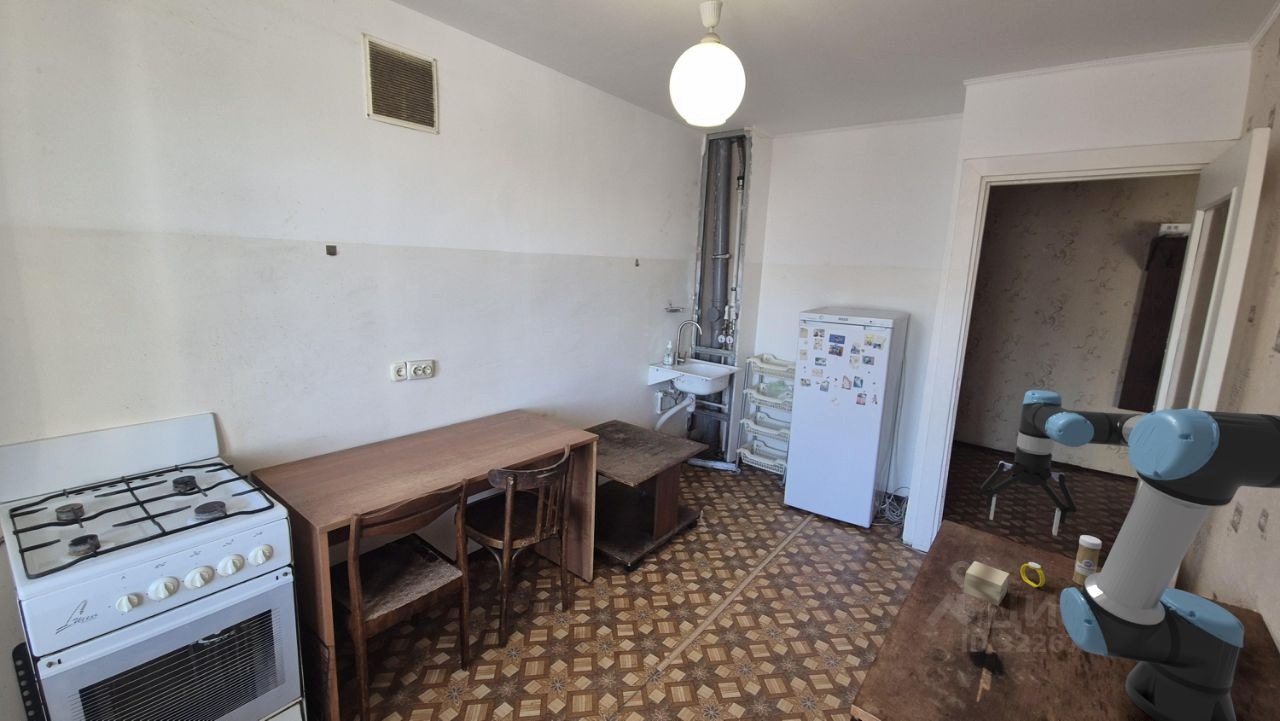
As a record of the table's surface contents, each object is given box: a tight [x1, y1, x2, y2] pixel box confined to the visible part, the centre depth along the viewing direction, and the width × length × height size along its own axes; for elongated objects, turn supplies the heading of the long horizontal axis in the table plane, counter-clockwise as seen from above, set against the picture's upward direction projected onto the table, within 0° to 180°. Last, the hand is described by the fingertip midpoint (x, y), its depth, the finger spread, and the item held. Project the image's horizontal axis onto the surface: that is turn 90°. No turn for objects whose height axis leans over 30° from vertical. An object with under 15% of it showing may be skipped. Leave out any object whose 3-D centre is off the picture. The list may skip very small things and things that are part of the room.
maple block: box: [962, 560, 1010, 607], centre depth 137 cm, size 8×8×6 cm
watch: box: [1019, 561, 1046, 588], centre depth 142 cm, size 6×3×6 cm, turn 13°
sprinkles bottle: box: [1072, 534, 1103, 587], centre depth 141 cm, size 5×5×13 cm
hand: (1022, 525), depth 137 cm, fingers open, 13 cm apart
